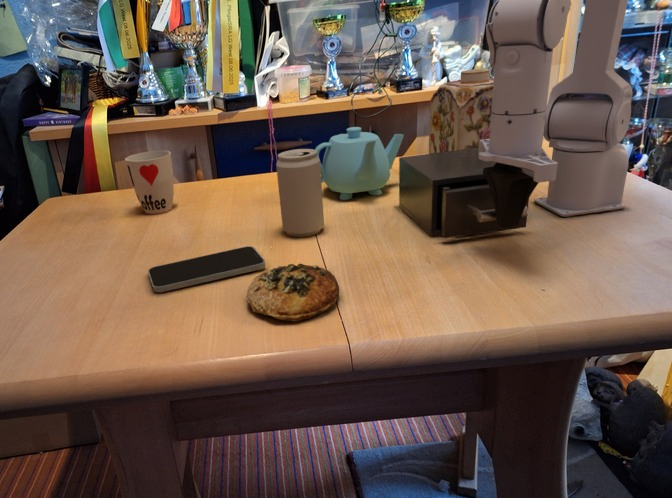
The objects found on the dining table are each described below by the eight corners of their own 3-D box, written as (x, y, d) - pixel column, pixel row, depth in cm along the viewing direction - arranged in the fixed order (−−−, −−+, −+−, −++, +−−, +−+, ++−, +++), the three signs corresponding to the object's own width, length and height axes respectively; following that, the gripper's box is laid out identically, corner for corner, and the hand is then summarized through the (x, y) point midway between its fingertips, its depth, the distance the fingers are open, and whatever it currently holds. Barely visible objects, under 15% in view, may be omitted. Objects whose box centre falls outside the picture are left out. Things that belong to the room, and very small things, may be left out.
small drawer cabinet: (517, 225, 79) (523, 168, 76) (431, 237, 79) (432, 180, 75) (473, 197, 92) (476, 147, 89) (399, 207, 92) (399, 157, 88)
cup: (128, 215, 103) (115, 161, 98) (152, 202, 109) (141, 150, 105) (165, 217, 100) (154, 161, 95) (188, 203, 106) (178, 150, 102)
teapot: (412, 184, 102) (413, 120, 97) (375, 206, 93) (374, 137, 88) (341, 178, 111) (338, 119, 106) (301, 197, 102) (296, 134, 97)
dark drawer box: (545, 239, 72) (551, 191, 69) (458, 250, 71) (461, 203, 68) (482, 199, 88) (485, 159, 85) (411, 209, 87) (411, 169, 85)
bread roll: (352, 282, 67) (347, 245, 65) (323, 339, 59) (316, 300, 57) (270, 277, 72) (262, 243, 70) (232, 329, 64) (221, 293, 61)
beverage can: (321, 238, 83) (316, 156, 77) (279, 239, 84) (271, 159, 79) (326, 223, 88) (322, 146, 83) (286, 224, 90) (279, 148, 84)
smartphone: (147, 268, 77) (251, 244, 80) (148, 274, 77) (252, 250, 80) (153, 288, 70) (266, 262, 74) (154, 295, 71) (267, 268, 74)
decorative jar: (455, 183, 100) (460, 76, 92) (426, 169, 110) (428, 71, 102) (516, 174, 101) (526, 67, 93) (482, 161, 112) (489, 63, 104)
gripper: (457, 106, 69) (453, 211, 75) (515, 125, 56) (504, 250, 62) (512, 99, 70) (503, 205, 76) (583, 116, 57) (565, 241, 63)
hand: (507, 225), depth 69 cm, fingers closed
